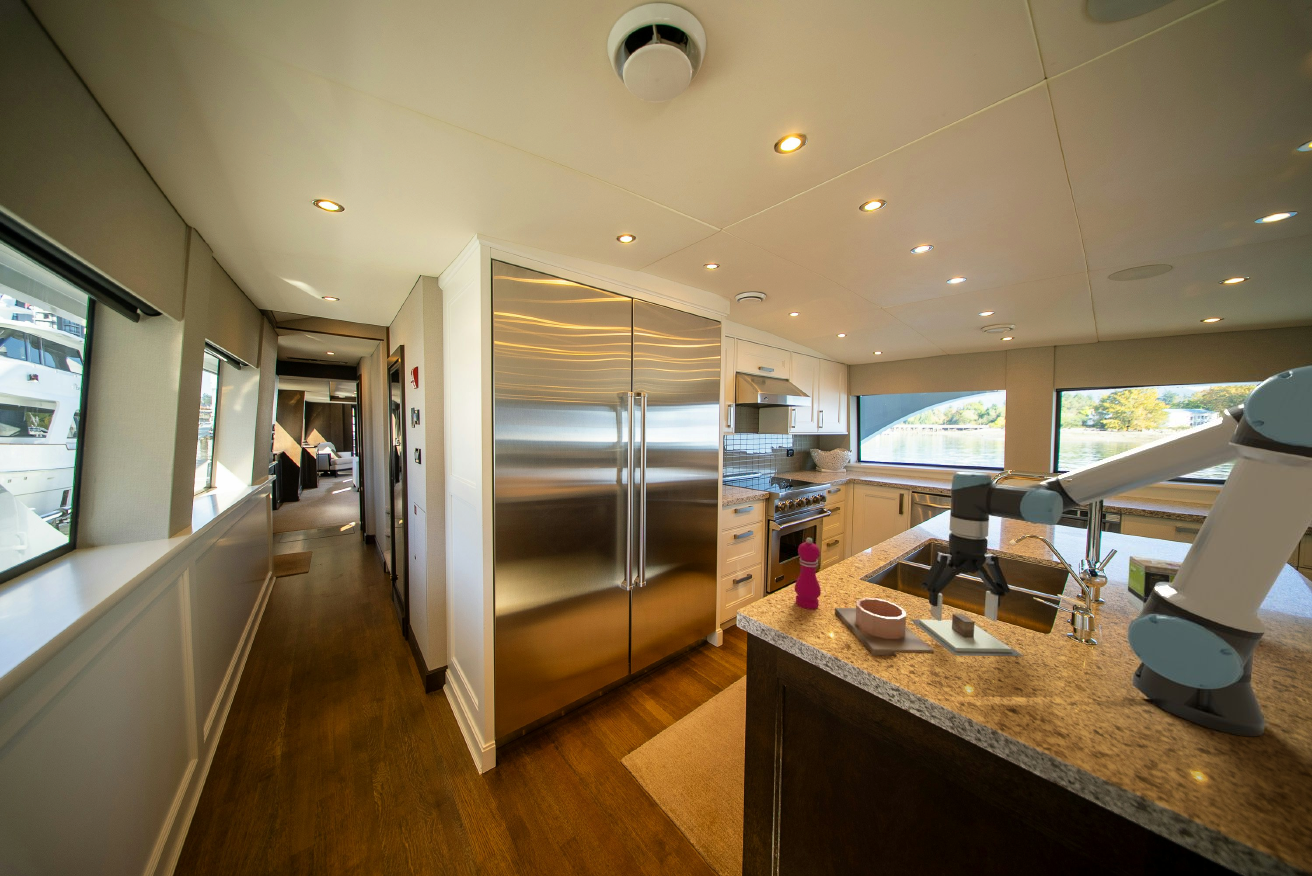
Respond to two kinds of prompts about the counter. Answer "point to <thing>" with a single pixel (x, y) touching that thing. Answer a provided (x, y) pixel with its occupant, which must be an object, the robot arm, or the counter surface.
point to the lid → (964, 635)
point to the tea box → (1148, 578)
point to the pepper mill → (808, 576)
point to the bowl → (880, 618)
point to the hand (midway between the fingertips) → (963, 618)
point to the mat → (1013, 653)
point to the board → (882, 644)
